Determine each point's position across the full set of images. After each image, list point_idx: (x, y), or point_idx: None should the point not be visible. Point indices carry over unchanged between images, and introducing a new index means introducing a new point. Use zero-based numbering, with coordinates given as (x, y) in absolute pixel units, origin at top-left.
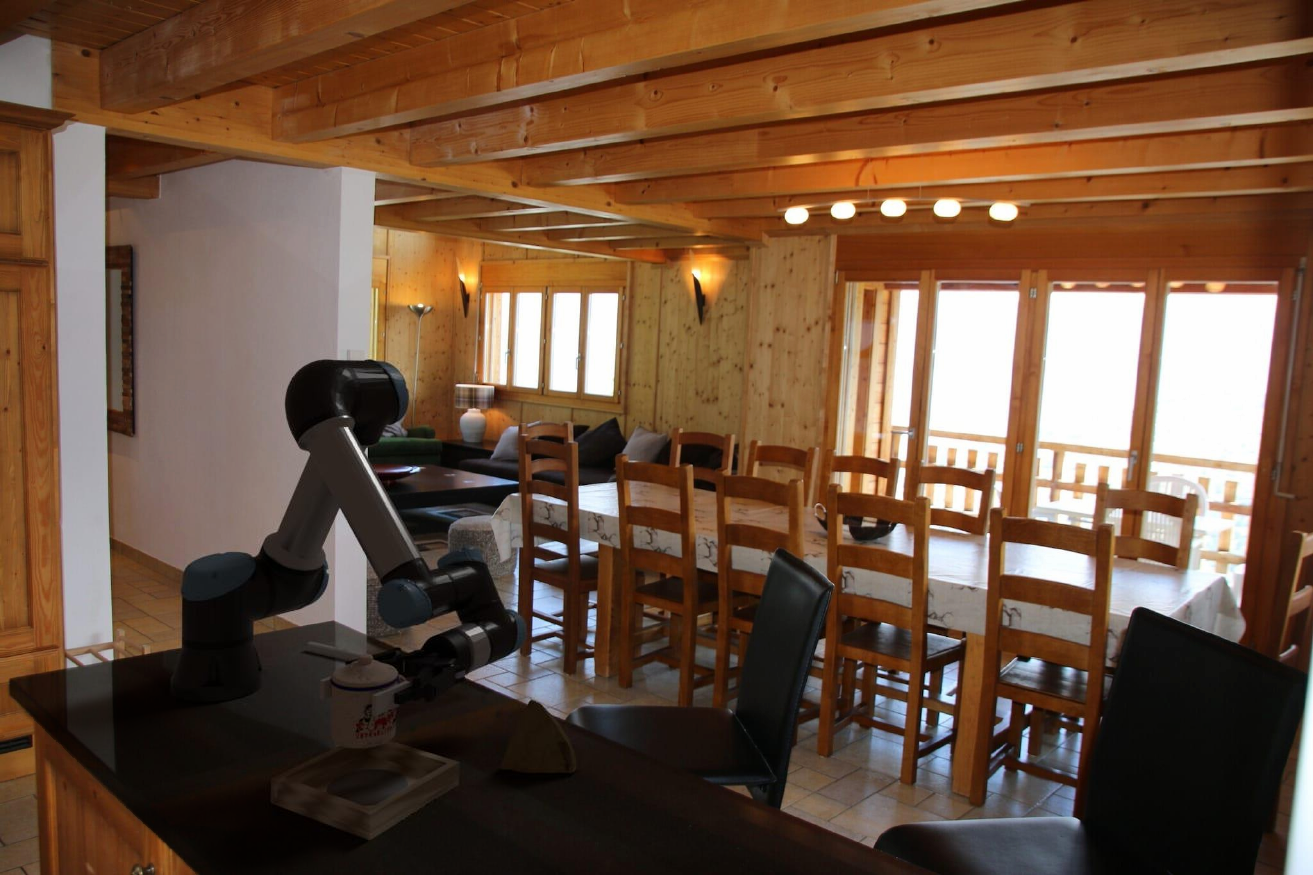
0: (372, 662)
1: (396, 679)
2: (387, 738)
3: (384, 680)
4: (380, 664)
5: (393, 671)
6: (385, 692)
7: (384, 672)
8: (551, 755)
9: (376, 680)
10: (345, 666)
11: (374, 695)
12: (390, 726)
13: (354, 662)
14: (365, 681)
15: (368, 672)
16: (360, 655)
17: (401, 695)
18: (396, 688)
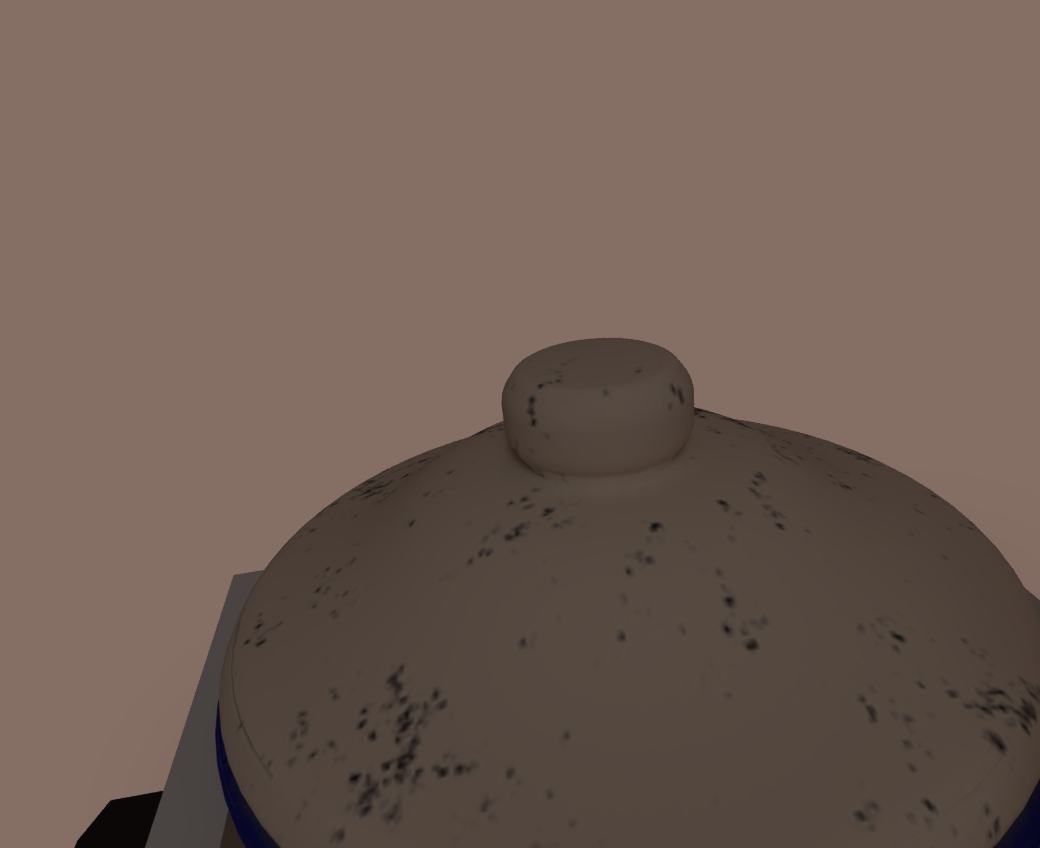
0: (534, 483)
1: (231, 790)
2: None
3: (253, 593)
4: (464, 561)
5: (316, 746)
6: (211, 647)
7: (339, 604)
8: None
9: (305, 533)
10: (827, 462)
11: (260, 571)
12: None
13: (699, 415)
14: (376, 482)
15: (422, 469)
16: (627, 342)
17: (96, 827)
18: (174, 779)
